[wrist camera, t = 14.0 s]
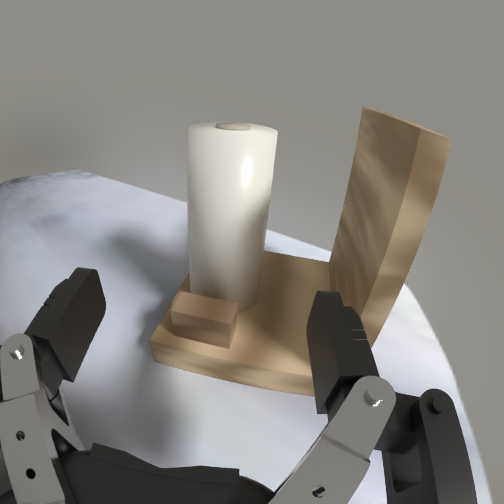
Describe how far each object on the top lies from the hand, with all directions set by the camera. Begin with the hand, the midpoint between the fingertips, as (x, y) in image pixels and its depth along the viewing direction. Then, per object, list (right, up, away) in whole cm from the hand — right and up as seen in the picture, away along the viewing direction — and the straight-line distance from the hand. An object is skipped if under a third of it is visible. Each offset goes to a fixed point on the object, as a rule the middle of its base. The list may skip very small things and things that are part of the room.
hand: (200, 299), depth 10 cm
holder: (+3, -4, +15) cm, 16 cm away
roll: (0, -2, +14) cm, 14 cm away
